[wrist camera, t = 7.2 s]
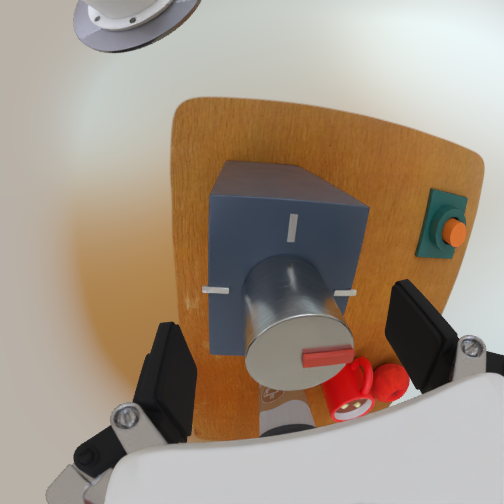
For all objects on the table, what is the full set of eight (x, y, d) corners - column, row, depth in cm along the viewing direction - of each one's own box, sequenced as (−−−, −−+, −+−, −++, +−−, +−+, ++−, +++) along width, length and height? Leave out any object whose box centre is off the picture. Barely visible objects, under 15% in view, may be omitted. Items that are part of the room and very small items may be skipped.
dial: (242, 324, 15) (245, 399, 11) (241, 254, 14) (244, 322, 9) (317, 321, 16) (342, 390, 11) (328, 253, 14) (368, 315, 9)
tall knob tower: (223, 160, 29) (202, 195, 12) (300, 165, 29) (376, 208, 13) (219, 244, 33) (204, 356, 16) (290, 248, 33) (336, 355, 17)
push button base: (430, 188, 31) (441, 192, 29) (465, 197, 31) (475, 201, 29) (414, 254, 35) (423, 262, 33) (449, 256, 35) (458, 263, 33)
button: (445, 216, 30) (454, 221, 29) (460, 219, 31) (469, 224, 29) (438, 241, 32) (447, 246, 30) (454, 242, 32) (462, 248, 30)
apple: (406, 363, 45) (421, 389, 38) (375, 386, 47) (387, 413, 40) (390, 348, 42) (407, 377, 36) (356, 374, 45) (369, 404, 38)
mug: (377, 345, 42) (395, 378, 35) (351, 389, 46) (362, 420, 39) (338, 345, 41) (353, 381, 34) (315, 390, 46) (324, 424, 38)
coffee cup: (288, 349, 40) (306, 431, 27) (310, 375, 43) (329, 448, 30) (243, 370, 42) (247, 450, 28) (269, 393, 45) (277, 465, 31)
